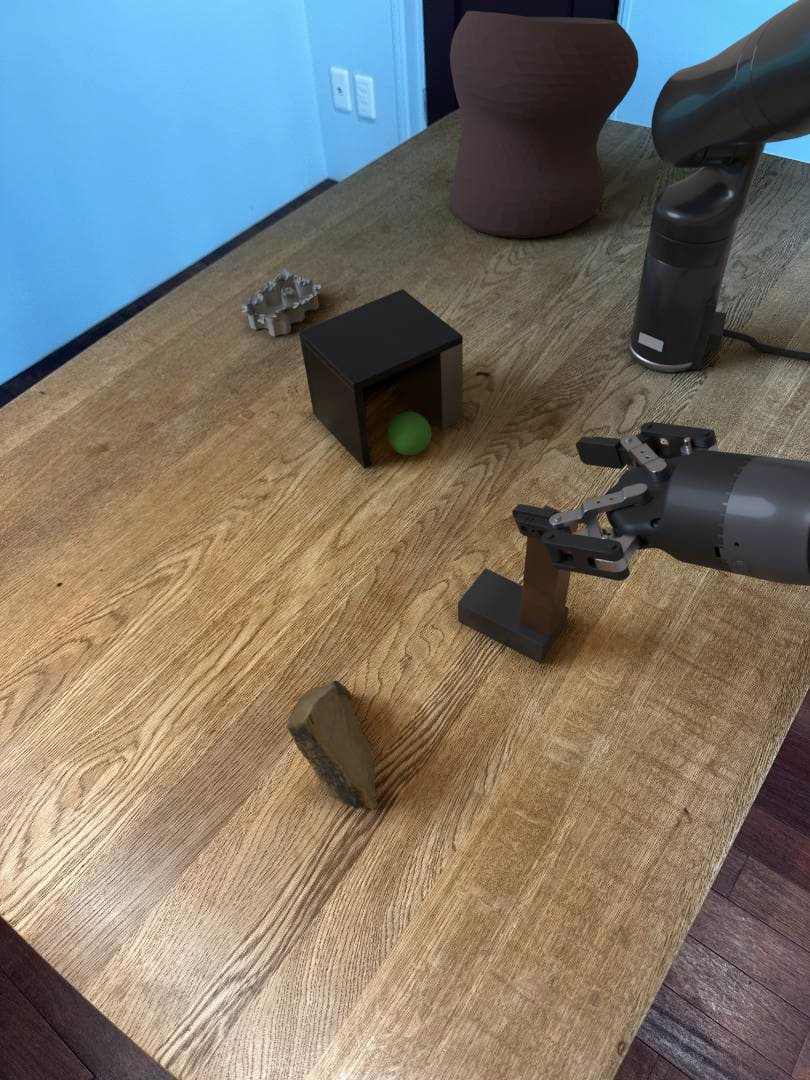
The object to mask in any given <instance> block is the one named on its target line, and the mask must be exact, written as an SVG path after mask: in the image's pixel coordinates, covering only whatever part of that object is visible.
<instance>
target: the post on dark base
mask: <svg viewBox="0 0 810 1080" xmlns="http://www.w3.org/2000/svg"><path fill="white" fill-rule="evenodd" d="M543 508H544V509H550V510H555V511H556V512H557V513H561V512H562V511H561V510H559V509H556V508H554V507H551V506H549V505H548V504H547V505H545V506H543ZM578 528H579V524H577V525H573V526H570V529H571V532H572V533H573V532H577V531H578ZM568 553H570V552H569V551H568ZM570 554H571V553H570ZM524 558H525V559H524V569H523V579H522V584H520V583H518V582H516V581H513V580H511V579H510V578H507V577H505V576H503V575H501V574H500V573H497V572H495V571H492V570H491V569H489V568H487V567H485V568H484V569H483V570H482V571H481V573H480V574H479V575H478V576H477V578H476V579H475V580H474V581H473V583H472V584H471V585H470V586H469V588H468V589H467V591H465V593H464V594H463V596H461V598H460V599H459V600H458V602H457V622H458V623H460V624H462V625H464V626H466V627H468V628H470V629H472V630H474V631H475V632H477V633H480V634H481V635H483V636H486V637H488V638H490V639H491V640H494V641H495V642H497V643H499V644H501V645H503V646H505V647H506V648H509V649H511V650H513V651H515V652H517V653H519V654H520V655H522V656H524V657H526V658H528V659H529V660H532V661H534V662H536V663H538V664H540V665H541V664H543V662H544V660H545V659H546V657H547V656H548V655H549V653H550V651H551V650H552V648H553V647H554V645H556V642H557V641H558V639H559V638H560V636H561V635H562V634H563V632H564V630H566V628H567V623H568V616H569V611H570V608H569V607H568V606H567V599H568V594H569V593H568V592H569V586H570V579H571V573H572V572H571V571H566V570H561V569H556V568H553V567H552V565H551V563H550V560H549V556H548V554H547V551H546V548H545V546H544V545H543V542H542V540H540V539H536V538H531V537H527V536H526V545H525V557H524Z"/></svg>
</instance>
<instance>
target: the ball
mask: <svg viewBox="0 0 810 1080" xmlns="http://www.w3.org/2000/svg"><path fill="white" fill-rule="evenodd" d="M386 431H387V432H386V434H387V435H386V436H387V440H388V443H389V445H390V446H391V448H392V449H393V450H394V451H395V452H396V453H398V454H401V455H403V456H416V455H418V454H420V453H422V452H423V451H424V450H425V449H426V448H427V447H428V445H429V443H430V441H431V438H432V429H431V425H430V423H429V421H428V420H427V418H426V417H424V416H423V415H422V414H420V413H418V412H415V411H409V410H407V411H402V412H400V413H398V414H396V415H395V416H394V417H392V419H391V420H390V422H389V424H388V426H387V430H386Z"/></svg>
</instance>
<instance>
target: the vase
mask: <svg viewBox="0 0 810 1080" xmlns="http://www.w3.org/2000/svg"><path fill="white" fill-rule="evenodd" d="M449 62H450V63H449V64H450V71H451V76H452V82H453V83H452V84H453V89H454V92H455V93H454V94H455V97H456V100H457V103H458V108H459V114H460V136H459V143H458V150H457V154H456V161H455V166H454V171H453V176H452V181H451V186H450V190H449V197H448V199H449V205H450V208H451V210H452V212H453V213H454V215H455V216H456V218H457V219H458V220H459V221H460V222H462V223H463V224H465V225H466V226H467V227H469V228H471V229H473V230H475V231H477V232H479V233H483V234H487V235H491V236H494V237H495V236H496V237H503V238H516V239H534V238H535V239H537V238H542V237H549V236H555V235H558V234H562V233H565V232H567V231H571V230H572V229H573V230H574V229H575V228H576V227H578V226H579V225H581V224H583V223H585V222H586V221H587V220H588V219H590V218H591V217H592V216H593V215H594V213H596V211H597V209H598V208H599V205H600V204H601V201H602V199H603V197H604V193H605V190H606V177H605V171H604V169H603V167H602V165H601V162H600V159H599V157H598V150H597V145H598V141H599V137H600V134H601V132H602V130H603V128H604V126H605V125H606V122H607V120H608V119H609V118H610V116H611V115H612V114H613V112H615V110H616V109H617V108H618V106H620V104H621V103H622V102H623V100H624V99H625V97H626V96H627V95H628V93H629V92H630V90H631V88H632V87H633V85H634V82H635V80H636V78H637V73H638V71H639V70H638V69H639V52H638V49H637V47H636V45H635V43H634V41H633V39H632V37H631V36H630V34H629V33H628V32H627V31H626V29H625V28H624V27H623V26H622V25H621V24H620V23H619V22H618V21H616V20H613V19H606V18H595V17H570V16H569V17H568V16H567V17H565V16H559V17H557V16H523V15H515V14H509V13H502V12H501V13H500V12H489V11H486V12H485V11H477V10H467V11H466V12H465V13H464V15H463V16H462V18H461V20H460V21H459V23H458V25H457V27H456V29H455V30H454V33H453V37H452V39H451V44H450V52H449Z"/></svg>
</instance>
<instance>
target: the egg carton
mask: <svg viewBox="0 0 810 1080" xmlns="http://www.w3.org/2000/svg"><path fill="white" fill-rule="evenodd" d="M322 287H323V285H322V284H320V283H318V284H315V283H314V282H313V281H312V279H310V278H309V279H307V278H305V277H304V276H300V275H299V274H298V273H295V274H293V273H292V272H290V271H289V270H287V269H286V268H283V269H281V271H280V272H279V273H278V274H277V275H276V276H275V278H274V279H271V280H270V281H269V283H267V282H265V283H264V284H263V285H262V286H261V287H260V288H259V289H257V290H256V291H255V292H254V293H253V294H251V295H248V296H245V297H244V298H243V299H242V302H241V306H240V312H241V313H247V318H248V324H249V327H250V328H251V330H254V331H257V330H259V329H267V330H268V334H269V335H270V336H272V337H274V338H275V337H277V336H280V335H288V334H289V333H290V332H292V328H291V327H292V325H291V324H294V323H301V322H303V320H305V319H306V316H305V313H306V312H307V311H310V310H312V311H316V310H317V309H319V307H320V304H319V300H318V299H319V298H318V297H319V294H321V288H322Z"/></svg>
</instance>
